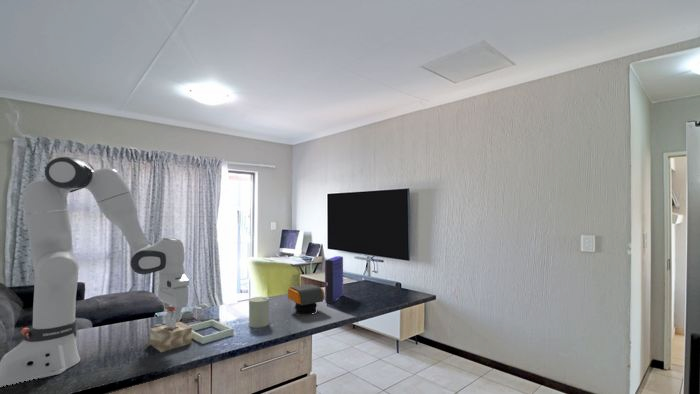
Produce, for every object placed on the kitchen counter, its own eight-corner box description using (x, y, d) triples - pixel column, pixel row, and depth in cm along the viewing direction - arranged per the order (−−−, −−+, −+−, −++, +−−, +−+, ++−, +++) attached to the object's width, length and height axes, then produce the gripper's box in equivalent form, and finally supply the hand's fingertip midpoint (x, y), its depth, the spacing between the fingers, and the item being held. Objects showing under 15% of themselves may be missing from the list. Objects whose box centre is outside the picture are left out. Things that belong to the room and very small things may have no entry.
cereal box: (336, 295, 210) (335, 256, 211) (343, 295, 209) (342, 256, 210) (325, 302, 194) (324, 260, 195) (332, 302, 192) (332, 260, 193)
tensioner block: (160, 354, 124) (161, 335, 124) (150, 347, 131) (150, 328, 132) (191, 345, 132) (191, 327, 132) (179, 338, 140) (180, 321, 140)
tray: (202, 346, 131) (202, 337, 132) (183, 335, 143) (183, 327, 144) (233, 336, 141) (233, 328, 141) (212, 327, 153) (212, 319, 153)
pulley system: (154, 324, 161) (153, 332, 148) (155, 314, 161) (154, 321, 148) (216, 317, 173) (220, 324, 160) (216, 308, 174) (220, 314, 161)
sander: (303, 302, 194) (303, 279, 195) (325, 312, 173) (325, 287, 174) (279, 306, 186) (279, 283, 186) (299, 318, 165) (299, 291, 166)
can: (266, 327, 152) (266, 300, 153) (246, 327, 152) (246, 300, 153) (271, 321, 161) (271, 295, 162) (251, 321, 161) (252, 295, 162)
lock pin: (168, 346, 130) (168, 309, 130) (164, 344, 132) (165, 307, 132) (176, 343, 132) (177, 307, 132) (173, 341, 134) (174, 305, 135)
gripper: (153, 277, 137) (153, 312, 137) (173, 284, 124) (174, 322, 123) (170, 275, 142) (170, 308, 142) (191, 281, 128) (191, 318, 128)
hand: (172, 315), depth 132 cm, fingers open, 8 cm apart
